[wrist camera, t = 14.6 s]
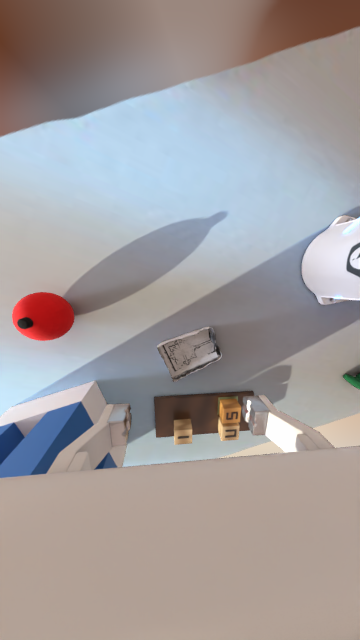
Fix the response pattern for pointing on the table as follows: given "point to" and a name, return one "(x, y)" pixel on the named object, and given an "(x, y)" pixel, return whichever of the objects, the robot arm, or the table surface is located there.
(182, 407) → the letter board
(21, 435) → the toy block
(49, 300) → the ornament
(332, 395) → the table surface
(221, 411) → the letter s tile
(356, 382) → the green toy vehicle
